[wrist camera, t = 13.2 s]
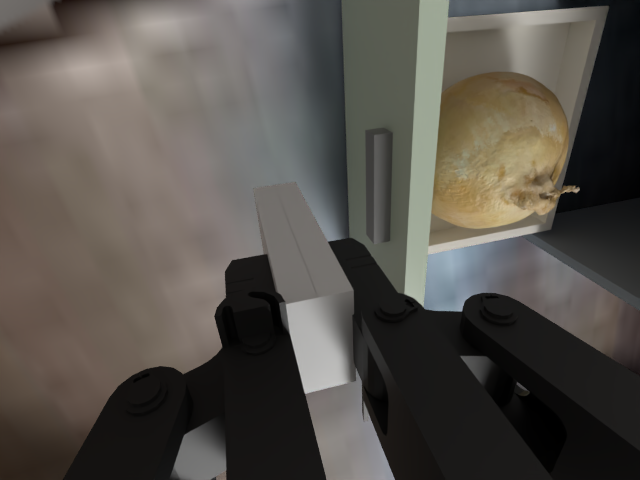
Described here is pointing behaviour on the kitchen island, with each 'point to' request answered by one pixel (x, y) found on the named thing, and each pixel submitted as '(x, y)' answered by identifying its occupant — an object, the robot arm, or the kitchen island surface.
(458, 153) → the onion
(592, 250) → the box
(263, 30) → the kitchen island surface
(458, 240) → the drawer
